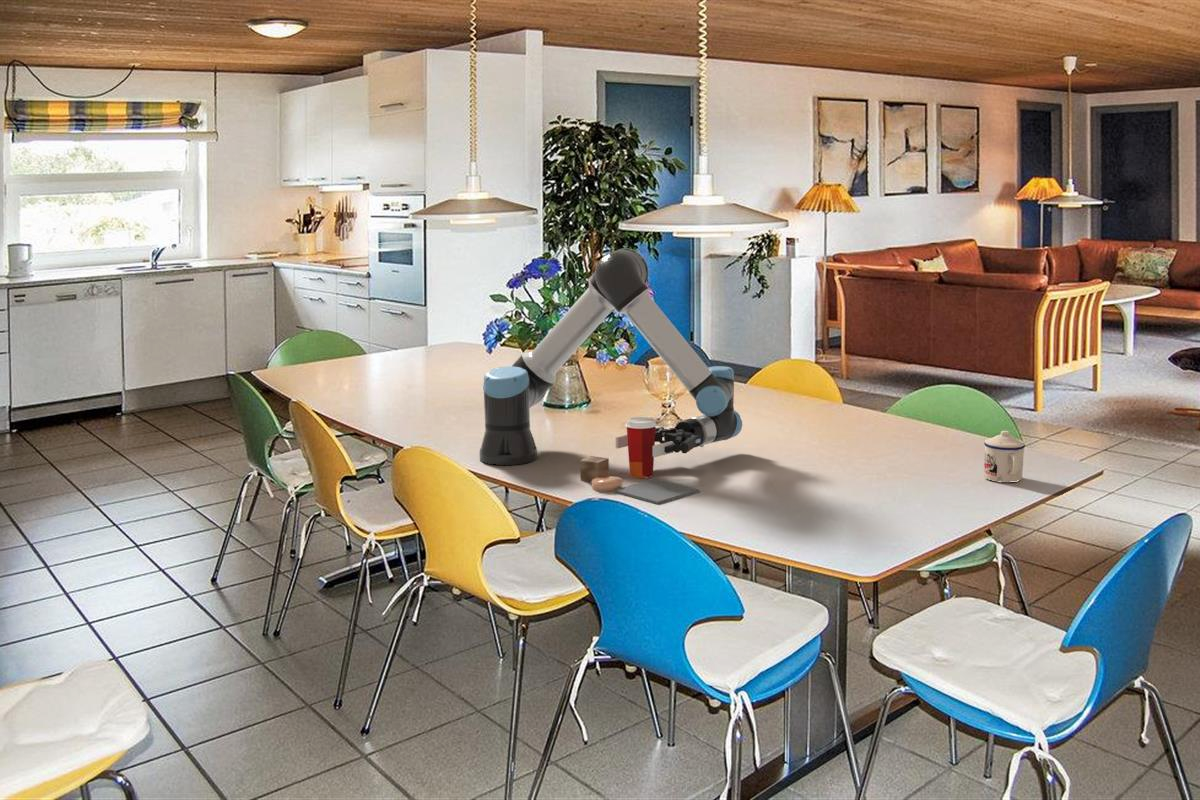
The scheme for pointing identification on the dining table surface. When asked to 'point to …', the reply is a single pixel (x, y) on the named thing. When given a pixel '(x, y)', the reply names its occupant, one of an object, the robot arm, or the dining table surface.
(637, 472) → the paper cup
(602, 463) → the walnut block
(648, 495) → the mat
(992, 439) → the teacup with lid
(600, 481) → the tan rounded disc
